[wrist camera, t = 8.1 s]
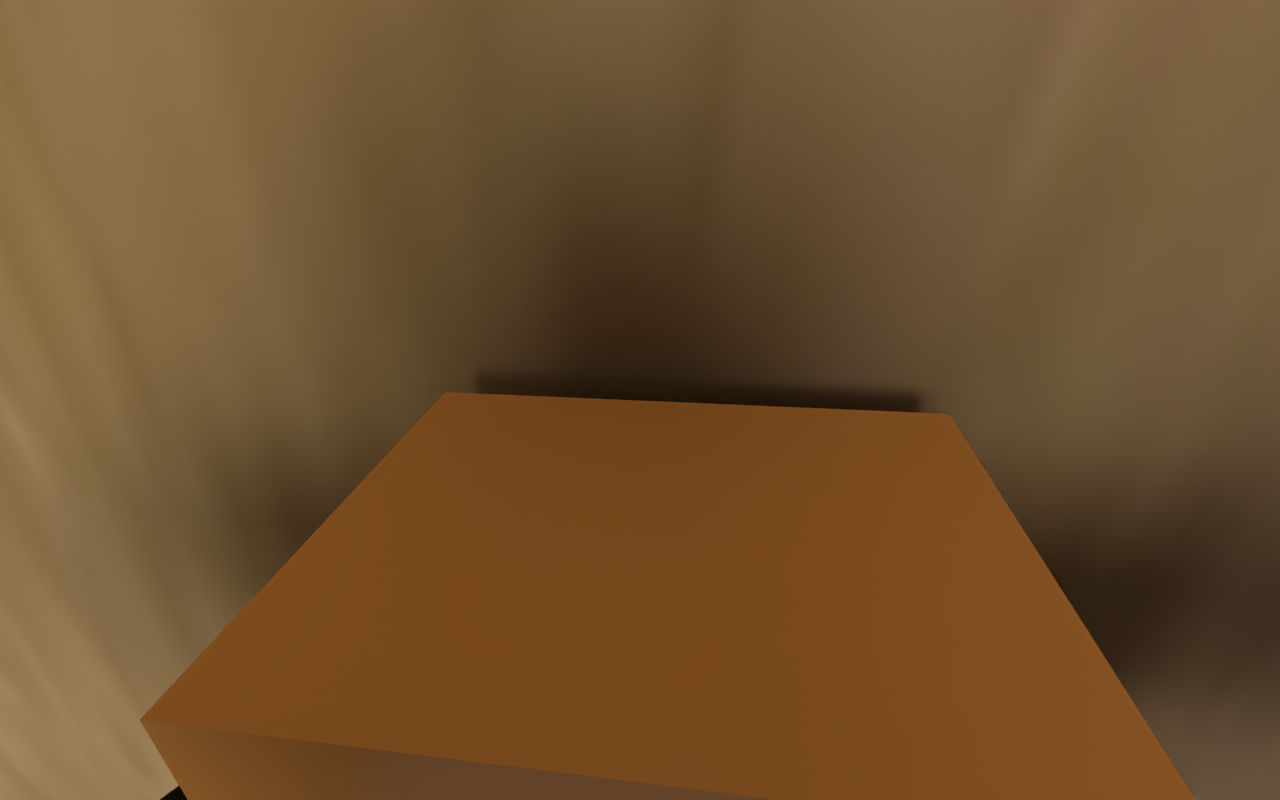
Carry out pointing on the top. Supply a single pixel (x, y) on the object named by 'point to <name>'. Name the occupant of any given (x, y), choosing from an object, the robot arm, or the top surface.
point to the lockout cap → (662, 624)
